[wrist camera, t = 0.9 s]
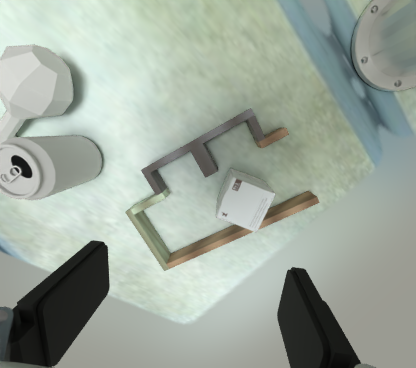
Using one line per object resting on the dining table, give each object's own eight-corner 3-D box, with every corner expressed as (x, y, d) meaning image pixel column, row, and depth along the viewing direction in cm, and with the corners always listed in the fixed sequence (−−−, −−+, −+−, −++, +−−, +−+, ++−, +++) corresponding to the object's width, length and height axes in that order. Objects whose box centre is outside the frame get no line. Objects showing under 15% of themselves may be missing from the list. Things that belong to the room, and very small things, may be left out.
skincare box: (250, 212, 34) (257, 234, 27) (216, 200, 34) (214, 218, 27) (265, 180, 32) (277, 193, 25) (229, 166, 32) (231, 176, 25)
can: (114, 164, 34) (56, 182, 22) (82, 188, 35) (13, 216, 24) (84, 125, 32) (6, 123, 21) (52, 152, 34) (-37, 163, 22)
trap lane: (267, 99, 29) (272, 96, 27) (310, 196, 33) (319, 202, 30) (118, 183, 34) (109, 187, 31) (168, 260, 37) (164, 271, 35)
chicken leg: (-12, 112, 34) (-61, 135, 27) (38, 26, 27) (-14, 31, 20) (41, 146, 38) (9, 173, 32) (95, 80, 31) (68, 98, 25)
